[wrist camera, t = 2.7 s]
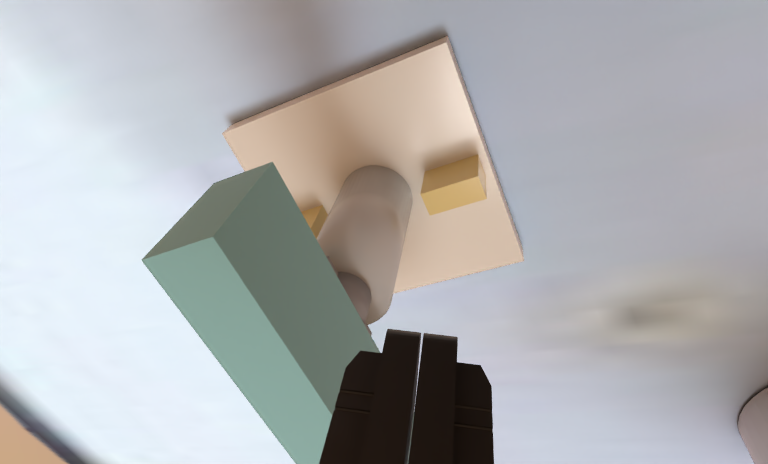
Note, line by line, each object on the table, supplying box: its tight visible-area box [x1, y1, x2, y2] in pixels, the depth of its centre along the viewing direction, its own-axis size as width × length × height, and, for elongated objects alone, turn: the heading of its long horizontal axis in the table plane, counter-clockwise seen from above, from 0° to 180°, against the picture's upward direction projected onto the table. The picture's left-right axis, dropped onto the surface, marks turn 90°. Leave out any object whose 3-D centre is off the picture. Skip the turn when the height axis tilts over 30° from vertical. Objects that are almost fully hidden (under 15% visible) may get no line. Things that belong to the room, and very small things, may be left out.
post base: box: [222, 36, 524, 325], centre depth 29 cm, size 14×14×10 cm
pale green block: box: [142, 162, 414, 464], centre depth 21 cm, size 15×3×7 cm, turn 23°
